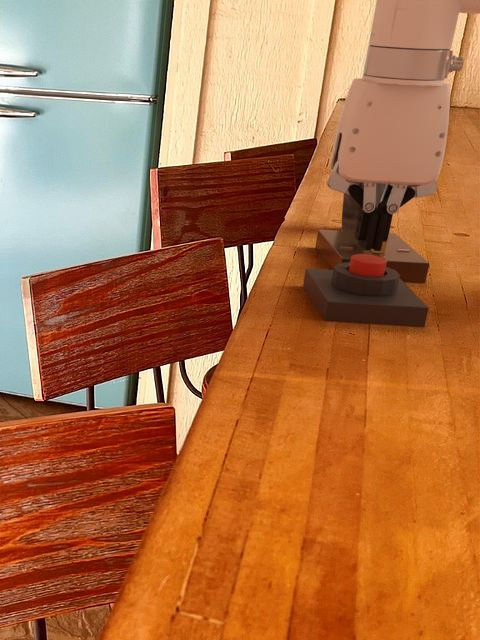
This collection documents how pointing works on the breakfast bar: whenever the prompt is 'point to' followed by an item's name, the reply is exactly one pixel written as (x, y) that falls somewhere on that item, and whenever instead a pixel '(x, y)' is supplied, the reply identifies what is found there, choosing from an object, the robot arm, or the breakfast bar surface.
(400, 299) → the dark grey button base
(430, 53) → the robot arm
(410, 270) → the plate
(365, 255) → the bell button
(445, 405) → the breakfast bar surface
